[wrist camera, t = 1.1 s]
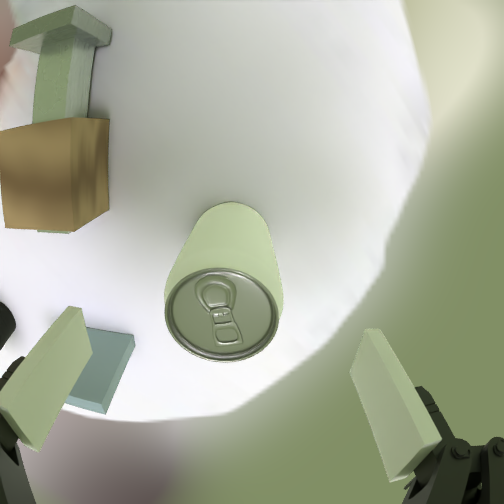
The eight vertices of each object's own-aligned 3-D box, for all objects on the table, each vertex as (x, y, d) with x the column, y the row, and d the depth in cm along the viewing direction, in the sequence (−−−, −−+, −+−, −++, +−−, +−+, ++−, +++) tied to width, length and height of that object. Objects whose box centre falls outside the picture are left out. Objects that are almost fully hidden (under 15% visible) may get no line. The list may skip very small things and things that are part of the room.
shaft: (55, 42, 17) (13, 29, 11) (111, 29, 17) (75, 5, 11) (48, 219, 24) (7, 242, 18) (101, 221, 24) (63, 247, 18)
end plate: (58, 321, 28) (16, 376, 19) (133, 335, 29) (101, 404, 20) (61, 331, 29) (22, 387, 20) (135, 345, 29) (105, 414, 20)
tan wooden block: (41, 127, 21) (-1, 131, 15) (109, 119, 21) (71, 117, 15) (44, 208, 24) (5, 228, 18) (109, 209, 24) (74, 231, 18)
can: (263, 194, 24) (278, 247, 13) (275, 266, 26) (294, 359, 15) (185, 209, 24) (138, 272, 13) (203, 278, 27) (179, 373, 15)
